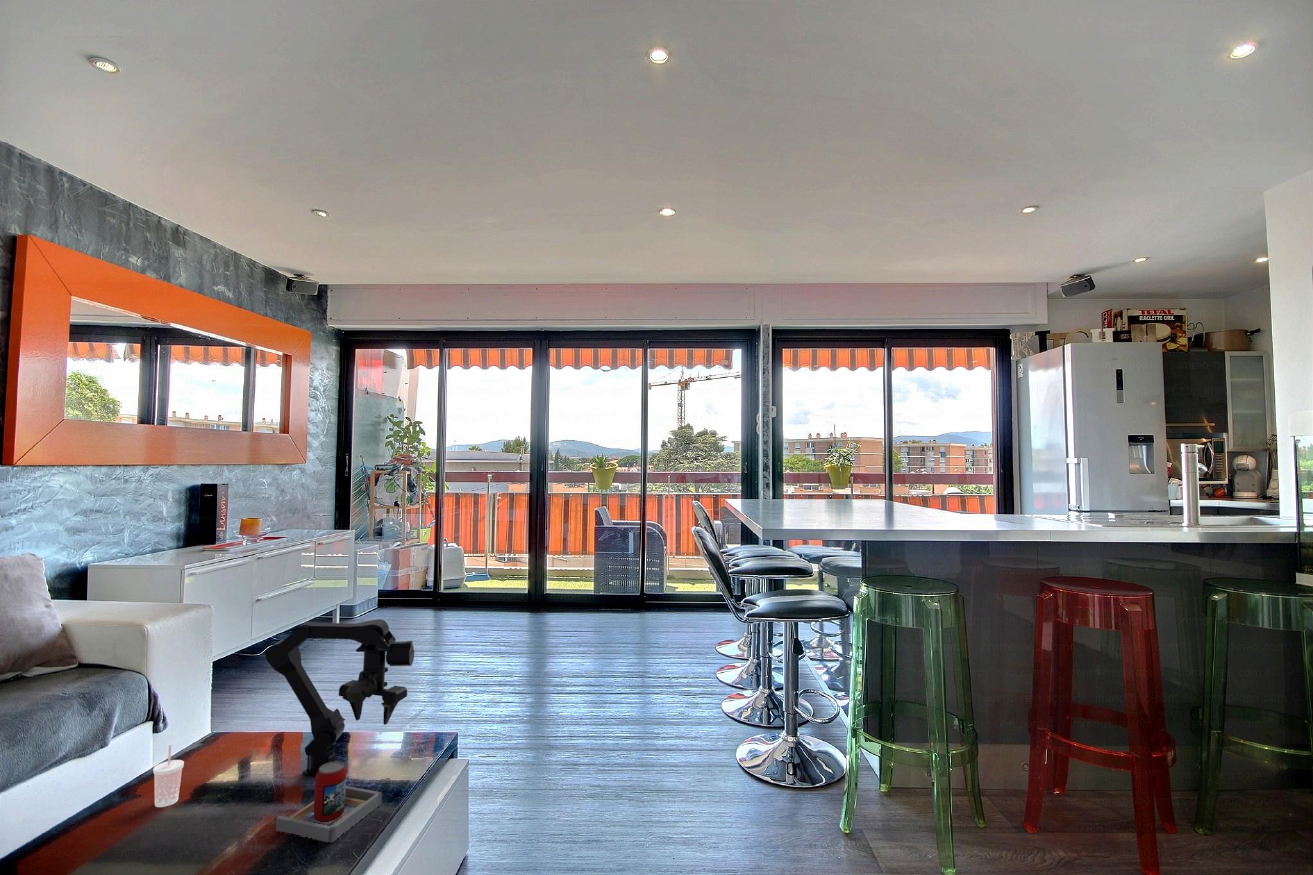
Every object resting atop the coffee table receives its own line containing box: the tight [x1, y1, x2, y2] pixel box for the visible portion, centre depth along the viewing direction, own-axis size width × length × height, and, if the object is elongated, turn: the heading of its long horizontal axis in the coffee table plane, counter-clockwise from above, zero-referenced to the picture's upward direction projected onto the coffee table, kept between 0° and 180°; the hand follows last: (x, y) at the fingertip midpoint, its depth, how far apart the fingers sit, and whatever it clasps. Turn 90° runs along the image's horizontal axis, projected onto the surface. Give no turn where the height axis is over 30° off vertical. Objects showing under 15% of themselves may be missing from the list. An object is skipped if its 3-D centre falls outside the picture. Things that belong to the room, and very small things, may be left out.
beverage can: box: [313, 760, 347, 822], centre depth 150 cm, size 7×7×12 cm
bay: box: [275, 785, 383, 844], centre depth 150 cm, size 16×17×3 cm
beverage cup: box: [152, 744, 185, 808], centre depth 154 cm, size 6×6×14 cm
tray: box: [289, 797, 366, 826], centre depth 150 cm, size 13×13×2 cm
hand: (371, 722), depth 174 cm, fingers open, 9 cm apart
